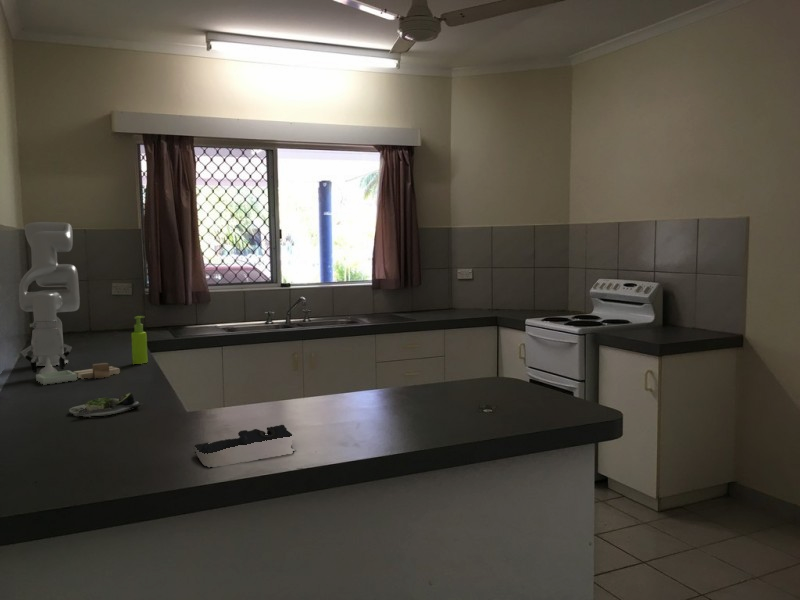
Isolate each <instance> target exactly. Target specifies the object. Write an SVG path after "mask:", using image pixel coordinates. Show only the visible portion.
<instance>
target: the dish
mask: <svg viewBox="0 0 800 600" xmlns="http://www.w3.org/2000/svg"><path fill="white" fill-rule="evenodd" d="M35 380H36V382H37V381H38V382H37V383H39V382H40V383H39V384H41V385H42V384H43V385H42V386H48V385H47V384H50V385H56V384H55V383H57V384H63V383H62V382H65V383H69V382H68V381H72V382H77V381H78V378H77V374H76V373H74V371H71V370H69V369H68V370H61V371H58V372H51V373H43V374H39V373H37V374H36V373H35ZM76 380H77V381H76Z"/></svg>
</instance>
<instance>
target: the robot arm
mask: <svg viewBox="0 0 800 600" xmlns="http://www.w3.org/2000/svg"><path fill="white" fill-rule="evenodd" d="M72 227H73V226H72V225H71V224H70V223H68V222H61V221H59V222H57V221H53V222H52V221H37V222H29V223H27V224H26V225H25V226H24V235H25V238H26V241H27V242H28V245H29V247H30V250H31V268H30V269H29V270H28V271H27V272H26V273H25V274H24V275H23V277H22V278H21V280H20V282H19V286H18V288H19V289H18V291H19V292H18V295H19V297H18V299H19V308H20V309H21V310H22V311H24V312H28V313H29V312H32V313H33V322H31V323H29V328H33V329H32V331H31V339H30V340H31V343H30V345H29V346H28V347H26V348H25V349H23V350H21V352H20V353H21V354H22V356H23V357H24V358H25V359H26V360H27V361H29V362H30V371H32V373H34V374H36V373H37V372H38V371H37V368H38V367H37V366H45V365H46V358H47V357H50V361H51V365H52V367H56V365H58V366H59V369H60V370H65V369H64V368H65V367H66V365H67V364H69V359H66V358H67V357H68V355H70V352H71V351H72V349H73V346H71V345H69V344H66V343H64V335H63V323H62V320H61V319H60V318H59V316H57V314H58V313H66V312H67V313H69V312H71V313H72V312H76V311H78V310H79V309H80V304H81V302H80V300H81V298H80V287H79V285H80V284H79V274H78V269H77V267H76V266H75V265H73V264H70V263H68V264H67V263H61V264H60V263H58V253H67V252H68V253H69V252H70V251H72V249H73V243H74V241H73V239H74V237H73V236H74V235H73V234H74V233H73V228H72ZM33 282H36V284H37V285H38V287H42V288H43V287H44V288H56V287H59V288H60V287H65V288H66V289H45V290H44V289H43V290H39V291H28V290H29V289H28V288H29V286H30V285H31V283H33ZM64 348H65V349H66V350H65V351H64ZM30 351H31V356H30V355H28V353H29V352H30ZM37 359H38V361H36V360H37ZM66 363H67V364H66Z"/></svg>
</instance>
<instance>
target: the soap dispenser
mask: <svg viewBox="0 0 800 600" xmlns="http://www.w3.org/2000/svg"><path fill="white" fill-rule="evenodd" d="M133 318H134V319H135V324H134V325H133V328H134V332H131V356H132V365H134V364H141V365H143V364H142V363H147V362H148V363H149V359H148V338H147V332H146V331H144V324H143V323H141V319H144V318H146V317H145V315H137V316H134V317H133ZM148 363H147V364H148Z"/></svg>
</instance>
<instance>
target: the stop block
mask: <svg viewBox="0 0 800 600" xmlns="http://www.w3.org/2000/svg"><path fill="white" fill-rule="evenodd" d="M109 366H110V364H109V363H108V362H100V363H94V364H92V369H93V378H92V379H96V378H98V379H103V378H104V377H105V378H110V376H111V375H110V374H109ZM105 378H104V379H105ZM96 380H97V379H96Z"/></svg>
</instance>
